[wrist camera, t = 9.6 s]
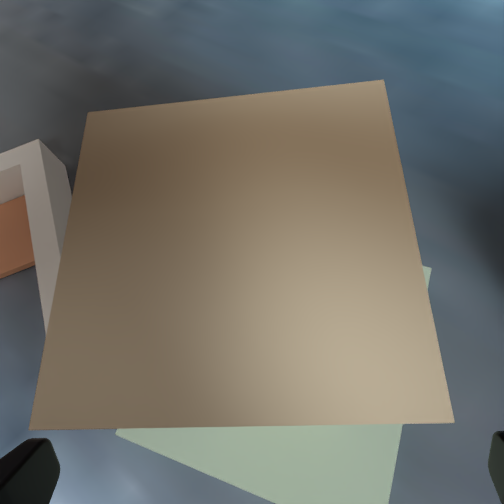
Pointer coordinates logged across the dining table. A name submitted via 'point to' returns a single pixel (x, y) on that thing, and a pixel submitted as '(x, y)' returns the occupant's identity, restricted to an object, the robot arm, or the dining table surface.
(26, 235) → the channel
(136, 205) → the block
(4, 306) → the dining table surface
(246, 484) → the mat
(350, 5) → the dining table surface
